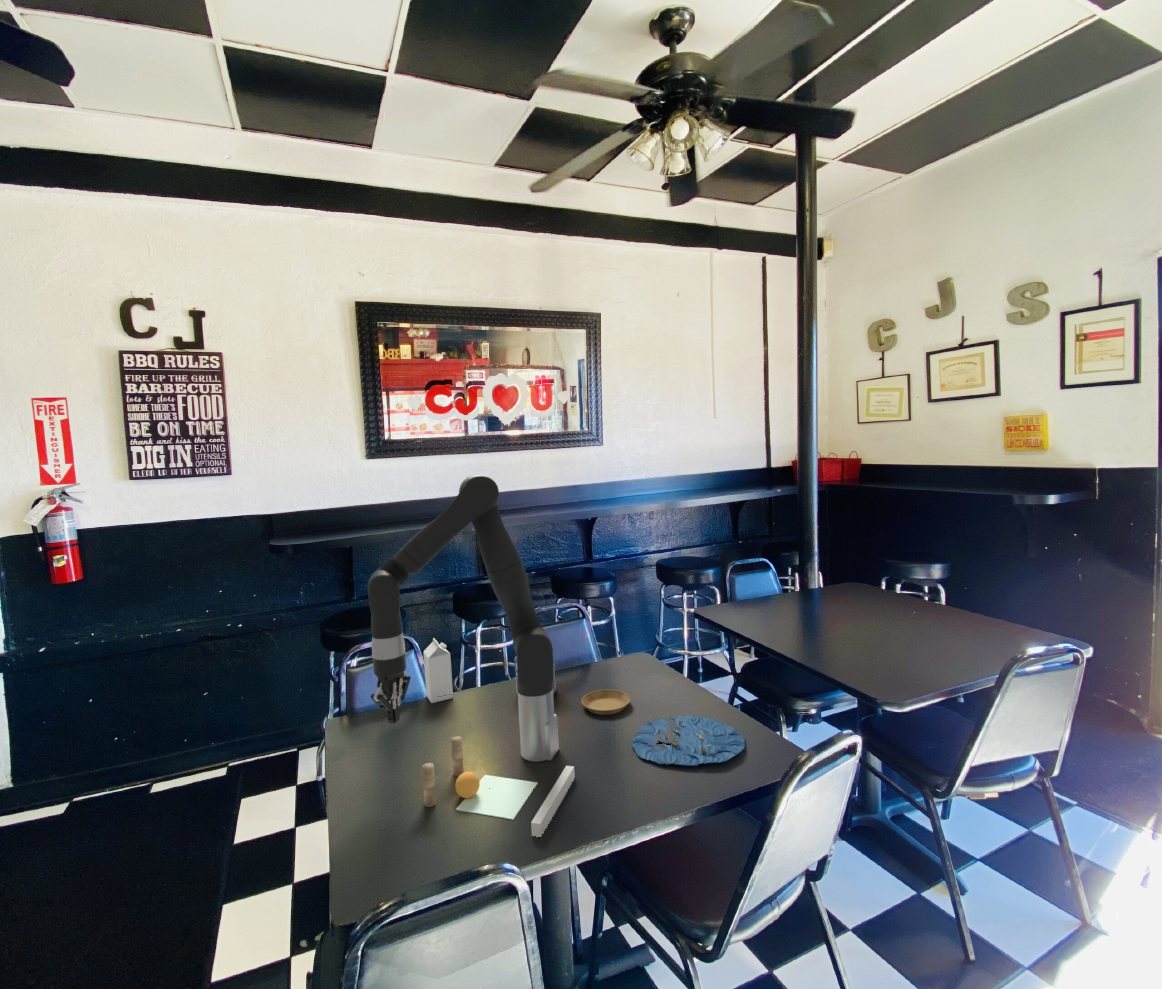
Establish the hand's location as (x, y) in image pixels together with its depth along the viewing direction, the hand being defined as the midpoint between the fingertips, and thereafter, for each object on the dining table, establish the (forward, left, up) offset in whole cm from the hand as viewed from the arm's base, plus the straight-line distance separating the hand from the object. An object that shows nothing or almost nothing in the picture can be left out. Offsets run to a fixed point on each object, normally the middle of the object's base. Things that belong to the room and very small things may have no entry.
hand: (394, 721), depth 142 cm
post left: (-13, +6, -15) cm, 21 cm away
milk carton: (+16, -45, -15) cm, 50 cm away
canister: (-14, -55, -15) cm, 59 cm away
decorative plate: (-65, -34, -16) cm, 75 cm away
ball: (-20, +2, -12) cm, 24 cm away
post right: (-13, -6, -15) cm, 21 cm away
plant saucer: (-39, -50, -16) cm, 65 cm away
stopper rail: (-41, 0, -15) cm, 44 cm away
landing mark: (-27, 0, -15) cm, 31 cm away
